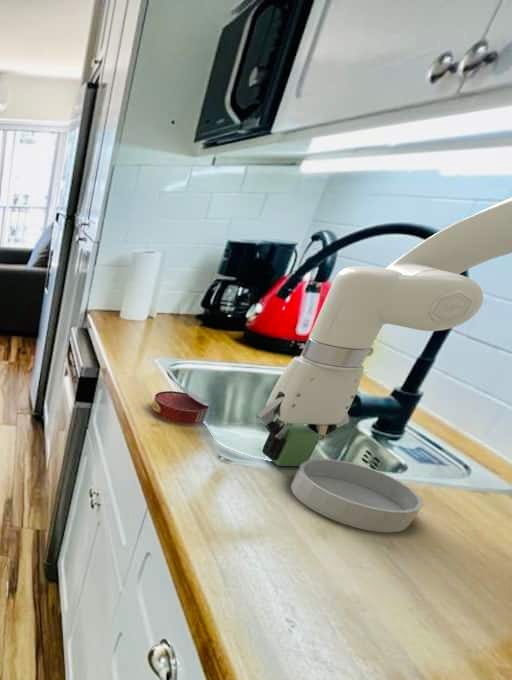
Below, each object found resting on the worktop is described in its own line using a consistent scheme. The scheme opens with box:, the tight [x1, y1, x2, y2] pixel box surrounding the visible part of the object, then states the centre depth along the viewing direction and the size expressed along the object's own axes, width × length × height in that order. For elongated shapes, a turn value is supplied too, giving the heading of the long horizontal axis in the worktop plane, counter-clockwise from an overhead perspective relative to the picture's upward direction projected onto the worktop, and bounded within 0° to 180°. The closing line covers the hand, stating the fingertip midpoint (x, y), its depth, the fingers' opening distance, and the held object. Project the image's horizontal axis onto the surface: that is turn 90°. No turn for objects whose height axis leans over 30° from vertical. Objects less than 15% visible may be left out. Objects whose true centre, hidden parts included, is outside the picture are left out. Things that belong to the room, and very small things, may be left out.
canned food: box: [150, 370, 210, 426], centre depth 97 cm, size 11×10×10 cm
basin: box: [290, 458, 424, 533], centre depth 71 cm, size 14×14×4 cm
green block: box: [265, 423, 320, 467], centre depth 81 cm, size 4×4×6 cm
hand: (284, 455), depth 82 cm, fingers closed on green block, 4 cm apart
